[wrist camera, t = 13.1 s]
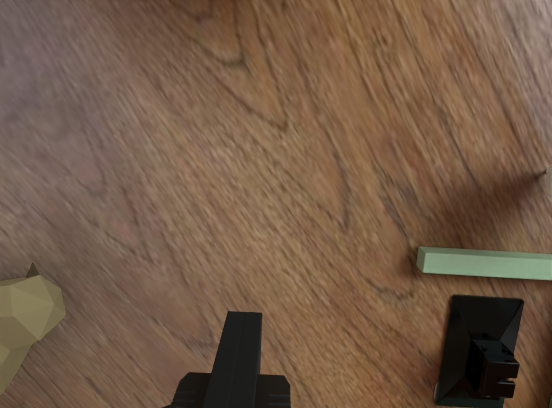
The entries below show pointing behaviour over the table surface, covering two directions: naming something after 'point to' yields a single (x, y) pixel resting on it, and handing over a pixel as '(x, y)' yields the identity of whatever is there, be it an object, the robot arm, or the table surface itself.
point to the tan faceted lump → (25, 318)
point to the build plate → (479, 352)
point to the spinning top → (549, 181)
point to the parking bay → (485, 264)
